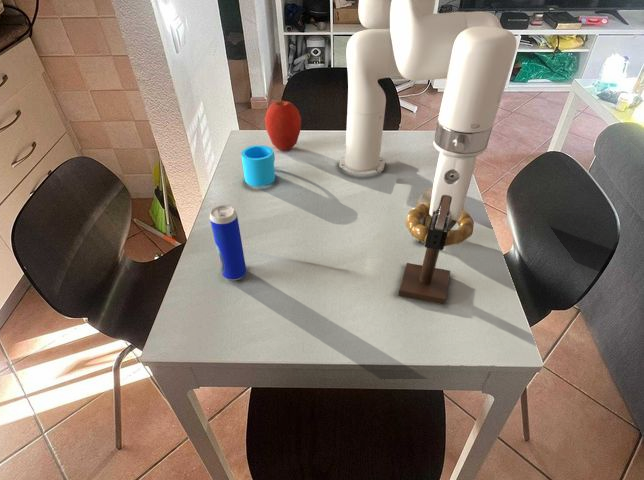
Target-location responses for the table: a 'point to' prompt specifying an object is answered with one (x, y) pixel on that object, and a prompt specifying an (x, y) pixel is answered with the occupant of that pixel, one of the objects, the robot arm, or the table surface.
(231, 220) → the beverage can
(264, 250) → the table surface
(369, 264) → the table surface
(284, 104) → the apple
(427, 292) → the stand
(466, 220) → the ring
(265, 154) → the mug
